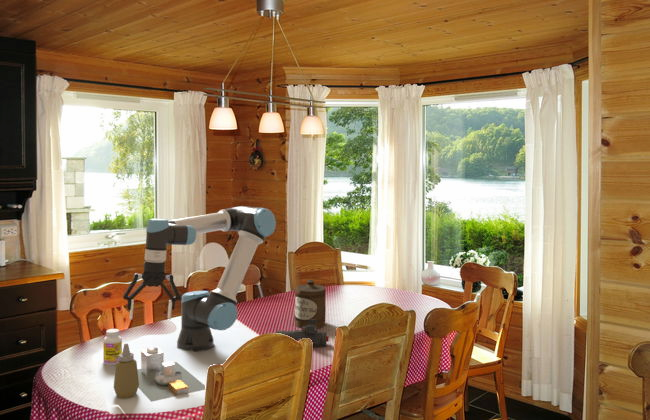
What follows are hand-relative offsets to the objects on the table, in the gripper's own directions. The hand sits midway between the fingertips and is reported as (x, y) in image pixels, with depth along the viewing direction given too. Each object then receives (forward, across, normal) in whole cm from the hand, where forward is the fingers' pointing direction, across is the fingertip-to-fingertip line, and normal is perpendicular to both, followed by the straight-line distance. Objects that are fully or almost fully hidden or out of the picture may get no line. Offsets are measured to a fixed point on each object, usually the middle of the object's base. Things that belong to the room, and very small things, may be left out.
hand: (150, 318), depth 214 cm
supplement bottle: (+21, -10, +16) cm, 28 cm away
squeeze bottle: (+22, -8, -18) cm, 30 cm away
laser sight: (+15, +67, +12) cm, 69 cm away
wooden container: (+12, +81, +39) cm, 90 cm away
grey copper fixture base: (+20, +7, -15) cm, 26 cm away
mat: (+21, +6, -9) cm, 23 cm away
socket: (+20, +2, -1) cm, 20 cm away
